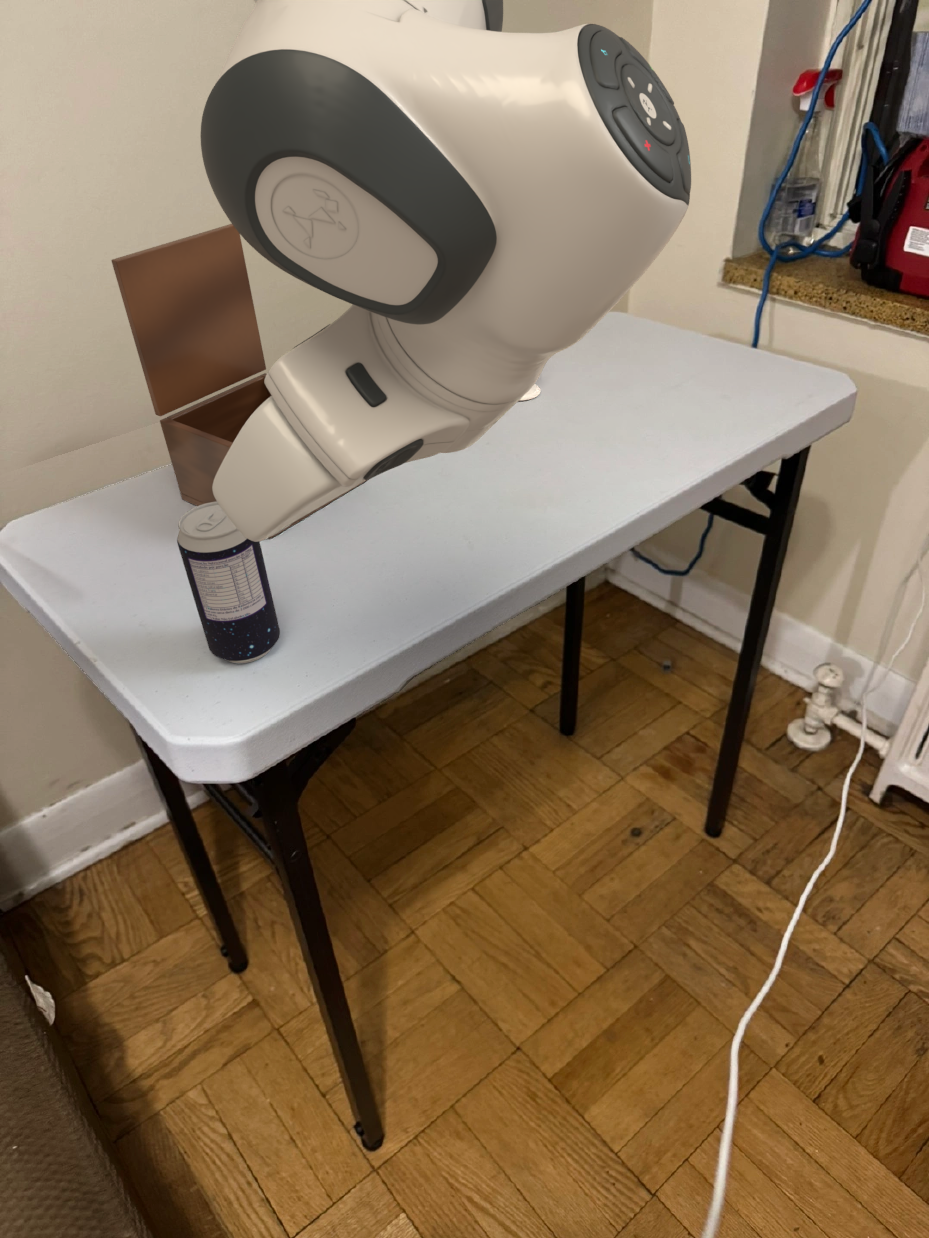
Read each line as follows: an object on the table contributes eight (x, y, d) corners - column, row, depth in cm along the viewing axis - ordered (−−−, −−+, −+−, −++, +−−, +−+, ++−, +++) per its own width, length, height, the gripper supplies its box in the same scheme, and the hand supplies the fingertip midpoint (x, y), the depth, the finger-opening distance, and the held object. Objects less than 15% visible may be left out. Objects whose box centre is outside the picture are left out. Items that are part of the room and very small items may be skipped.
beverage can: (295, 633, 70) (268, 506, 63) (254, 677, 66) (220, 546, 59) (239, 618, 73) (206, 492, 65) (196, 659, 69) (155, 530, 61)
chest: (368, 480, 90) (357, 401, 85) (270, 539, 82) (252, 455, 77) (279, 448, 97) (264, 372, 92) (181, 499, 89) (159, 420, 84)
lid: (238, 224, 82) (206, 218, 85) (116, 261, 74) (84, 253, 77) (266, 369, 91) (236, 360, 94) (160, 416, 83) (130, 405, 86)
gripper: (511, 263, 50) (400, 396, 61) (244, 372, 37) (162, 517, 48) (577, 351, 50) (455, 468, 61) (333, 489, 38) (233, 607, 48)
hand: (324, 490), depth 54 cm, fingers open, 8 cm apart
